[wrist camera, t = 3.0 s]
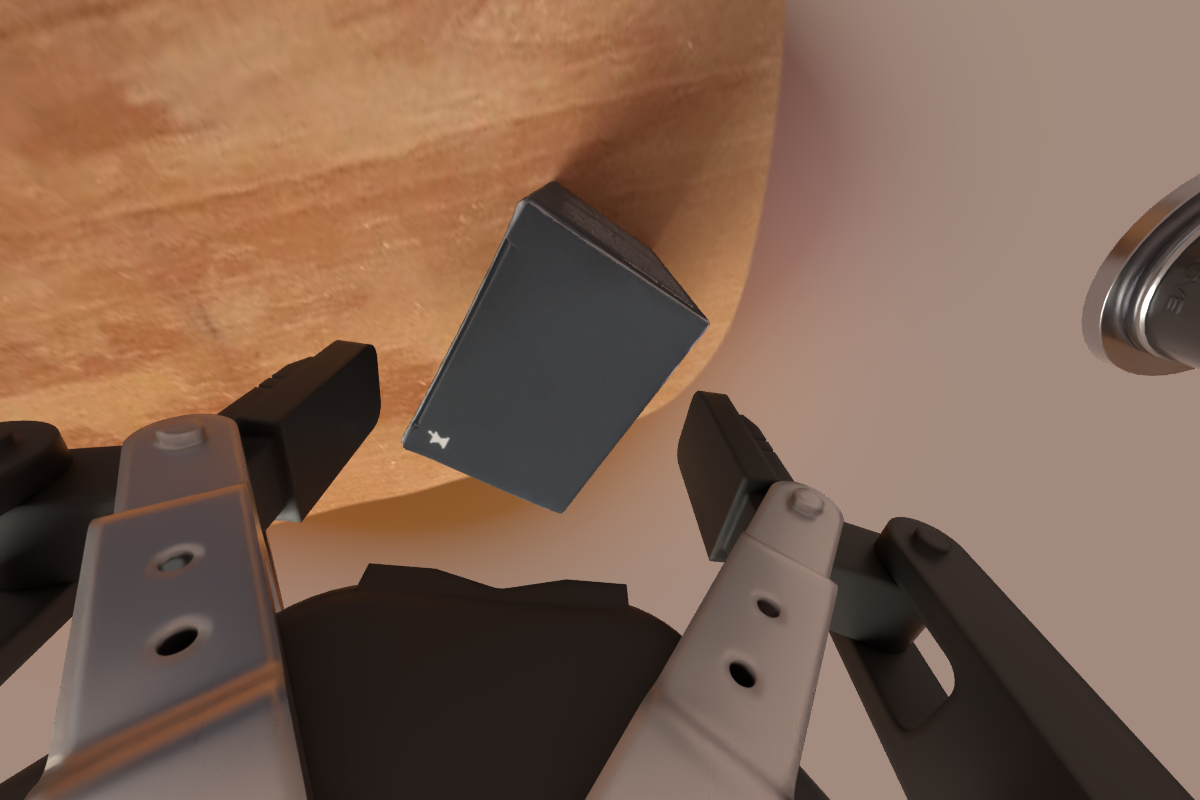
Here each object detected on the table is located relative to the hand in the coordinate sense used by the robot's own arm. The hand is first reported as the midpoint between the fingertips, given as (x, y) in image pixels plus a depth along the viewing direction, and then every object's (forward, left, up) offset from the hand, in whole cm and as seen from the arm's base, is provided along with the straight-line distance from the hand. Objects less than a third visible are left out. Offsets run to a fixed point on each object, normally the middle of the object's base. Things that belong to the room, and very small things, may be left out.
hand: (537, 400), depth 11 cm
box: (0, 0, -11) cm, 11 cm away
